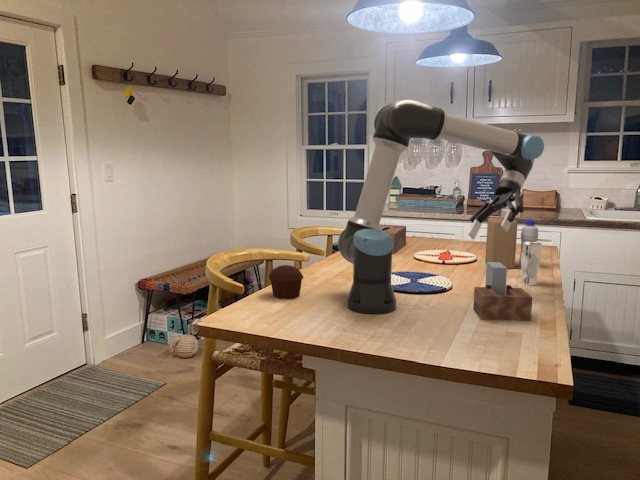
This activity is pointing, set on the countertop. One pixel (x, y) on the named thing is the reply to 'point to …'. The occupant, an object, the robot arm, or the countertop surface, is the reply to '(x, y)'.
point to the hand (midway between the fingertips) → (487, 232)
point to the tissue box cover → (396, 236)
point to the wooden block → (501, 243)
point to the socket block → (502, 304)
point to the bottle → (529, 233)
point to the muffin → (286, 282)
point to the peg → (496, 277)
